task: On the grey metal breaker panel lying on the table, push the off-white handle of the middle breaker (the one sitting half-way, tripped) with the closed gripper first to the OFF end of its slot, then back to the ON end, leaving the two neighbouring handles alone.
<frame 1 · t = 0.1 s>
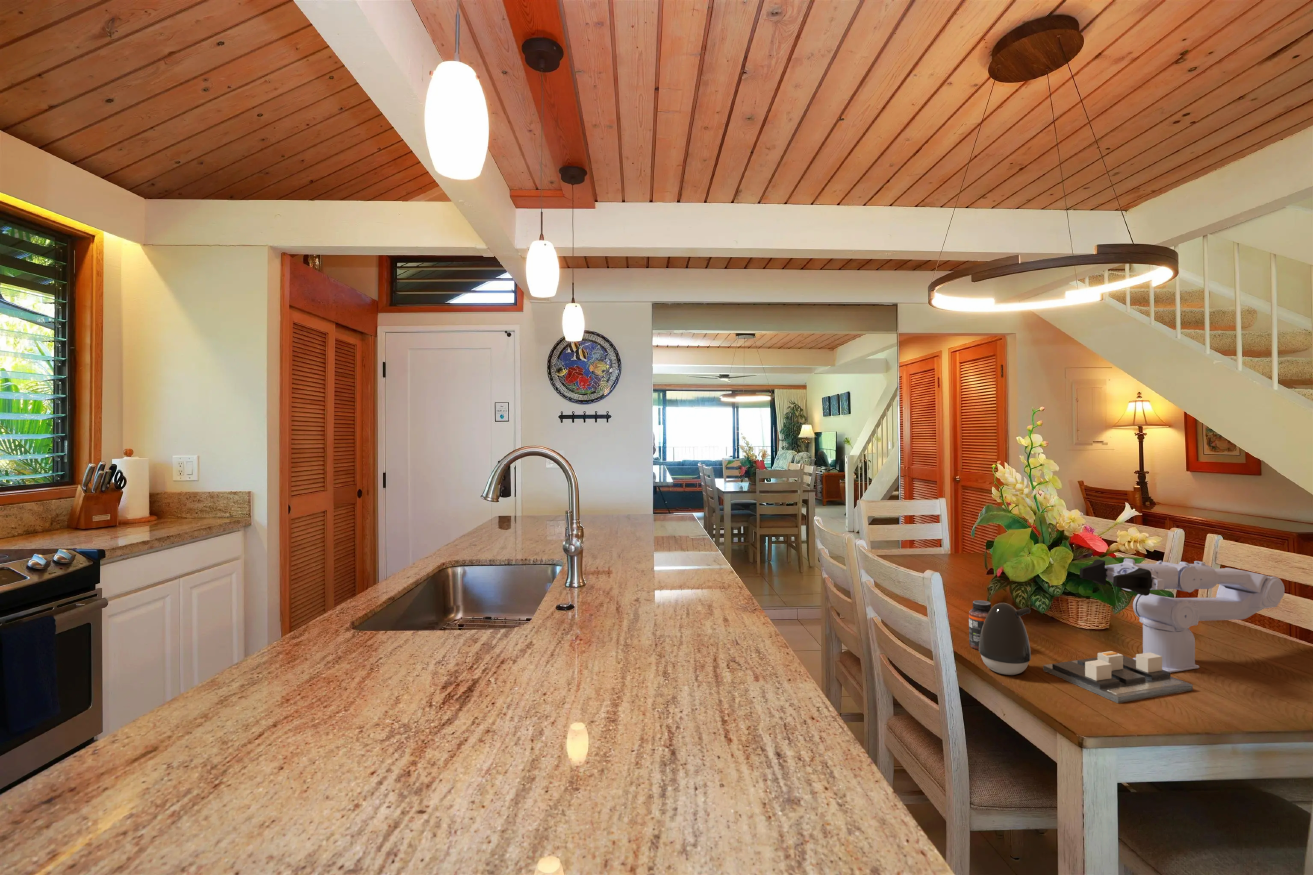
hand: (1097, 577, 134), 22 cm above the table, tool horizontal, fingers open, 7 cm apart
breaker panel: (1114, 679, 132), on the table
breaker middle: (1110, 660, 133), point 4 cm above the table, slide at 0.0 cm
pump dispenser: (1005, 671, 138), on the table
breaker 1: (1098, 669, 129), point 4 cm above the table, slide at 3.0 cm
breaker 2: (1149, 662, 132), point 4 cm above the table, slide at 3.0 cm
supplement bottle: (982, 648, 152), on the table
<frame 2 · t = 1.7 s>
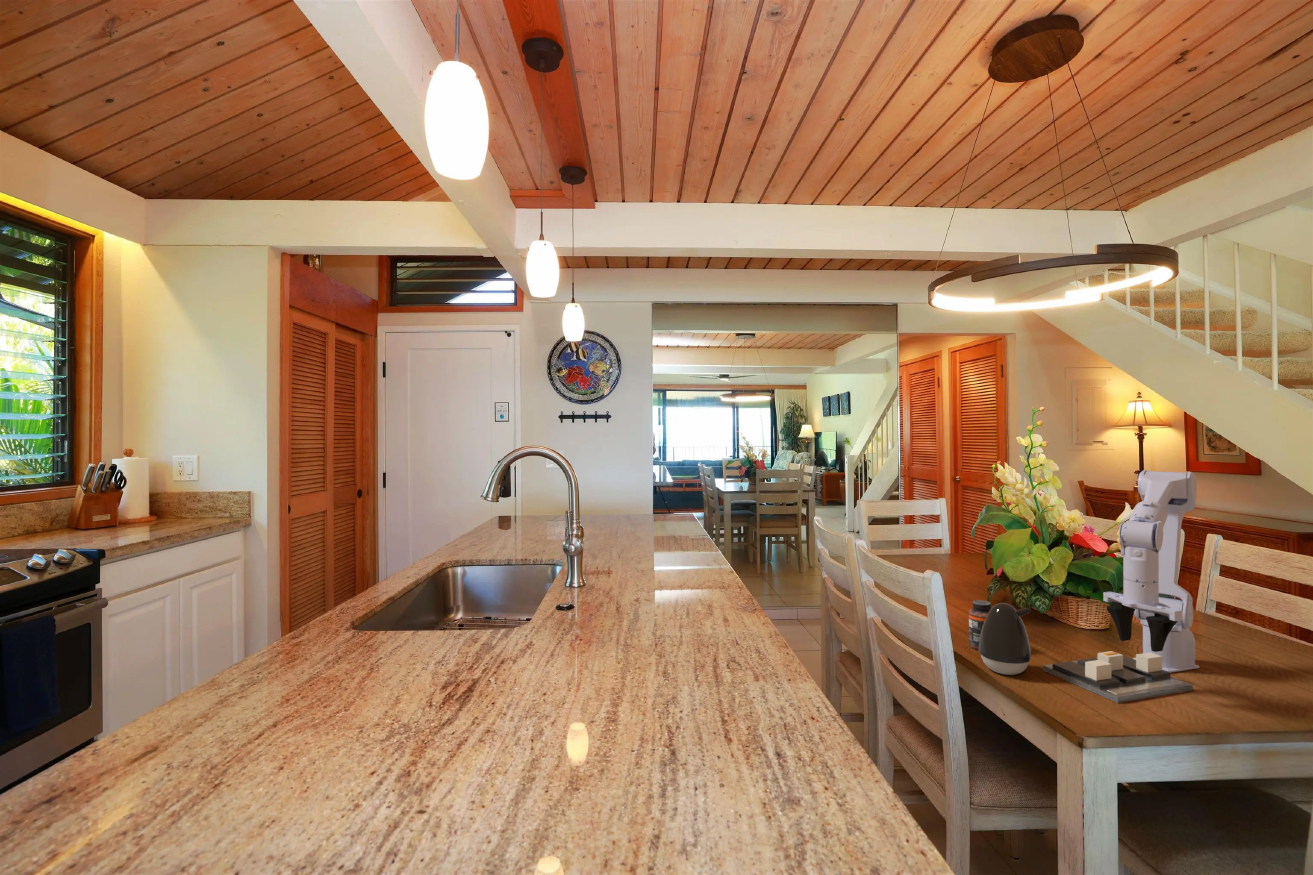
hand: (1140, 645, 127), 9 cm above the table, tool pointing down, fingers open, 6 cm apart
nothing on the table moved.
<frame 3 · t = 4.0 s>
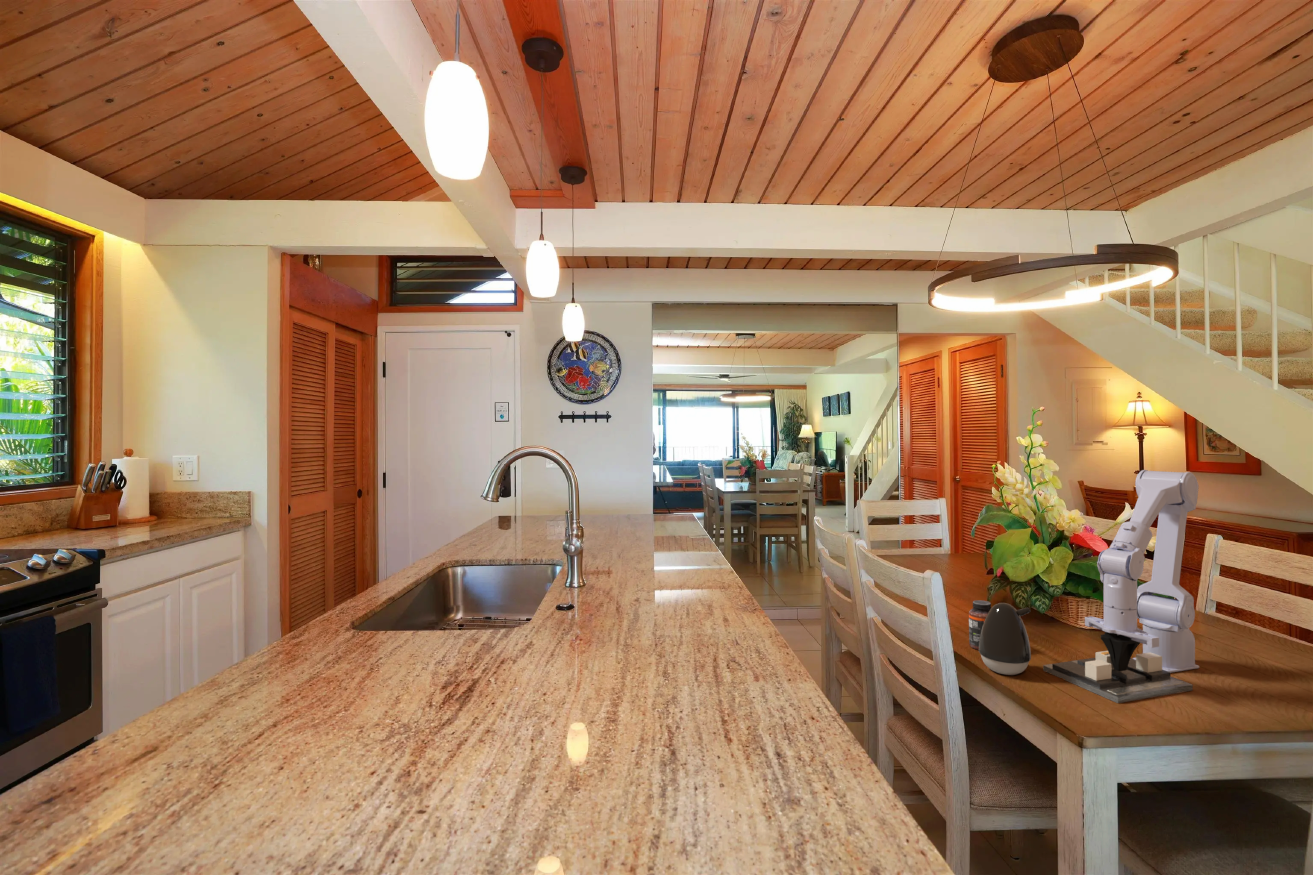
hand: (1120, 669, 131), 3 cm above the table, tool pointing down, fingers closed
breaker middle: (1108, 659, 134), point 4 cm above the table, slide at -0.5 cm, touching gripper
everything else where it was.
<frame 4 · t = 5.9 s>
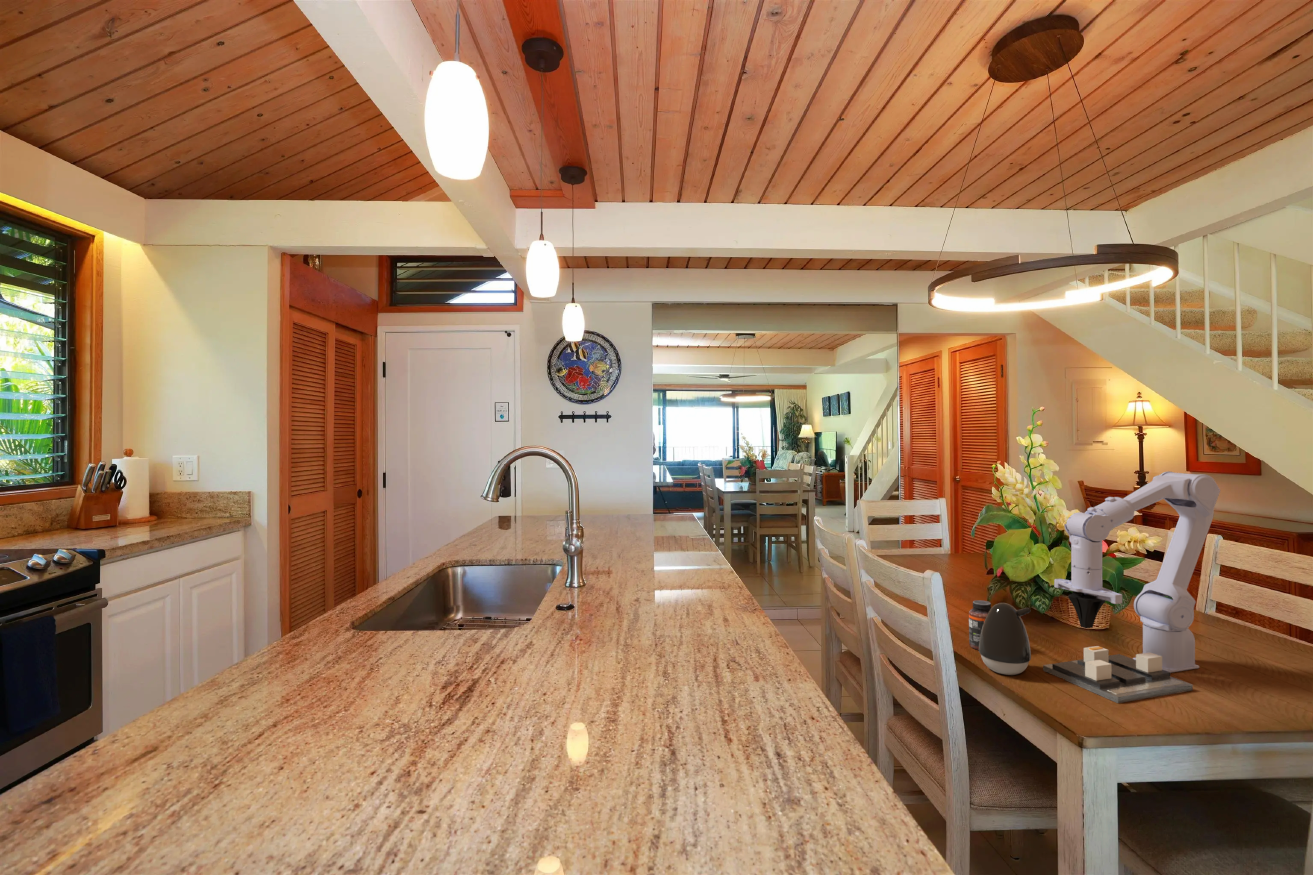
hand: (1086, 627, 138), 9 cm above the table, tool pointing down, fingers closed
breaker middle: (1096, 655, 136), point 4 cm above the table, slide at -3.2 cm
everything else where it was.
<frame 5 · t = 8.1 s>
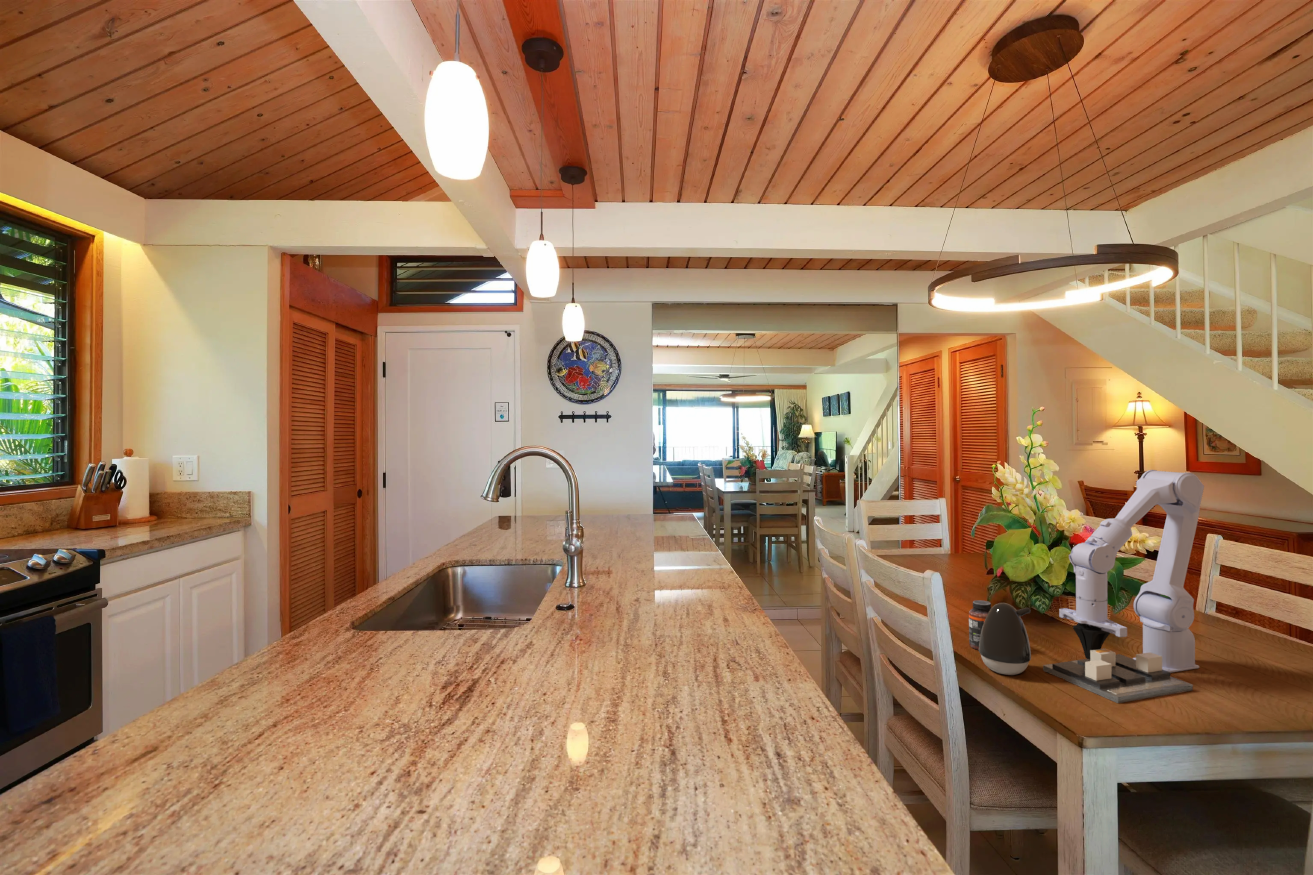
hand: (1091, 658, 137), 3 cm above the table, tool pointing down, fingers closed
breaker middle: (1102, 657, 135), point 4 cm above the table, slide at -1.7 cm, touching gripper
everything else where it was.
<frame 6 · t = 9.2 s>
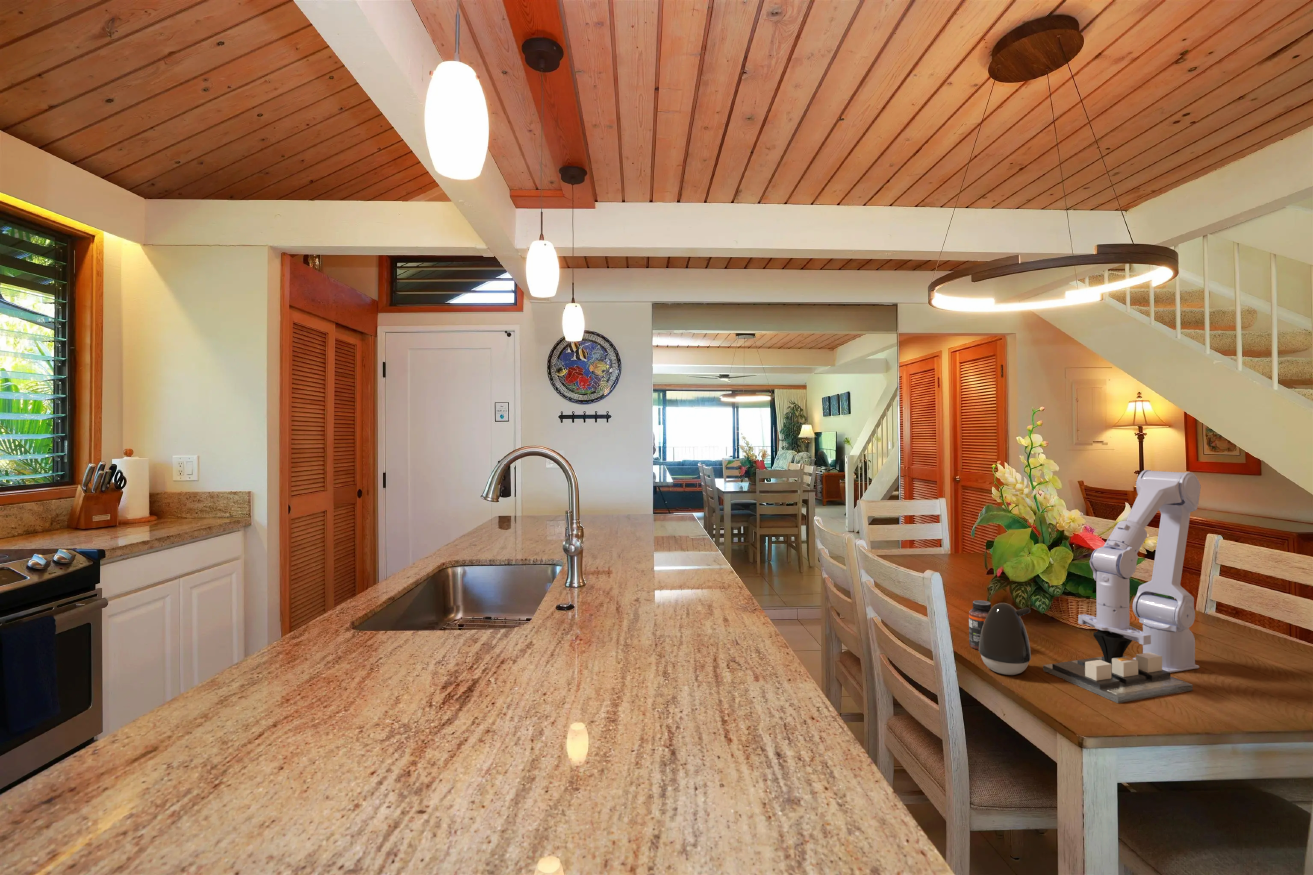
hand: (1112, 666, 133), 3 cm above the table, tool pointing down, fingers closed
breaker middle: (1124, 665, 130), point 4 cm above the table, slide at 3.2 cm, touching gripper
everything else where it was.
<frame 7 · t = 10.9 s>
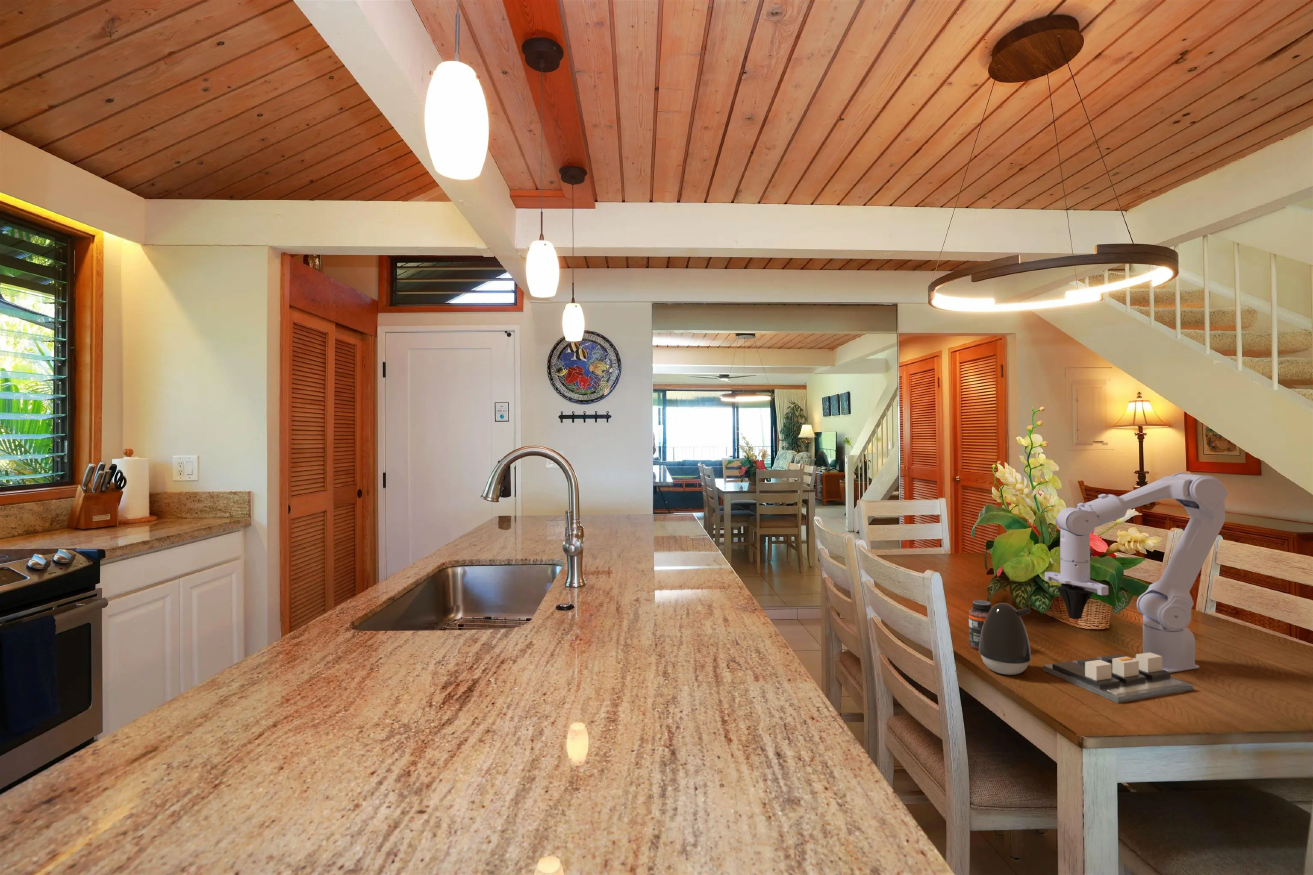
hand: (1075, 617, 143), 10 cm above the table, tool pointing down, fingers closed
breaker middle: (1125, 666, 130), point 4 cm above the table, slide at 3.3 cm
everything else where it was.
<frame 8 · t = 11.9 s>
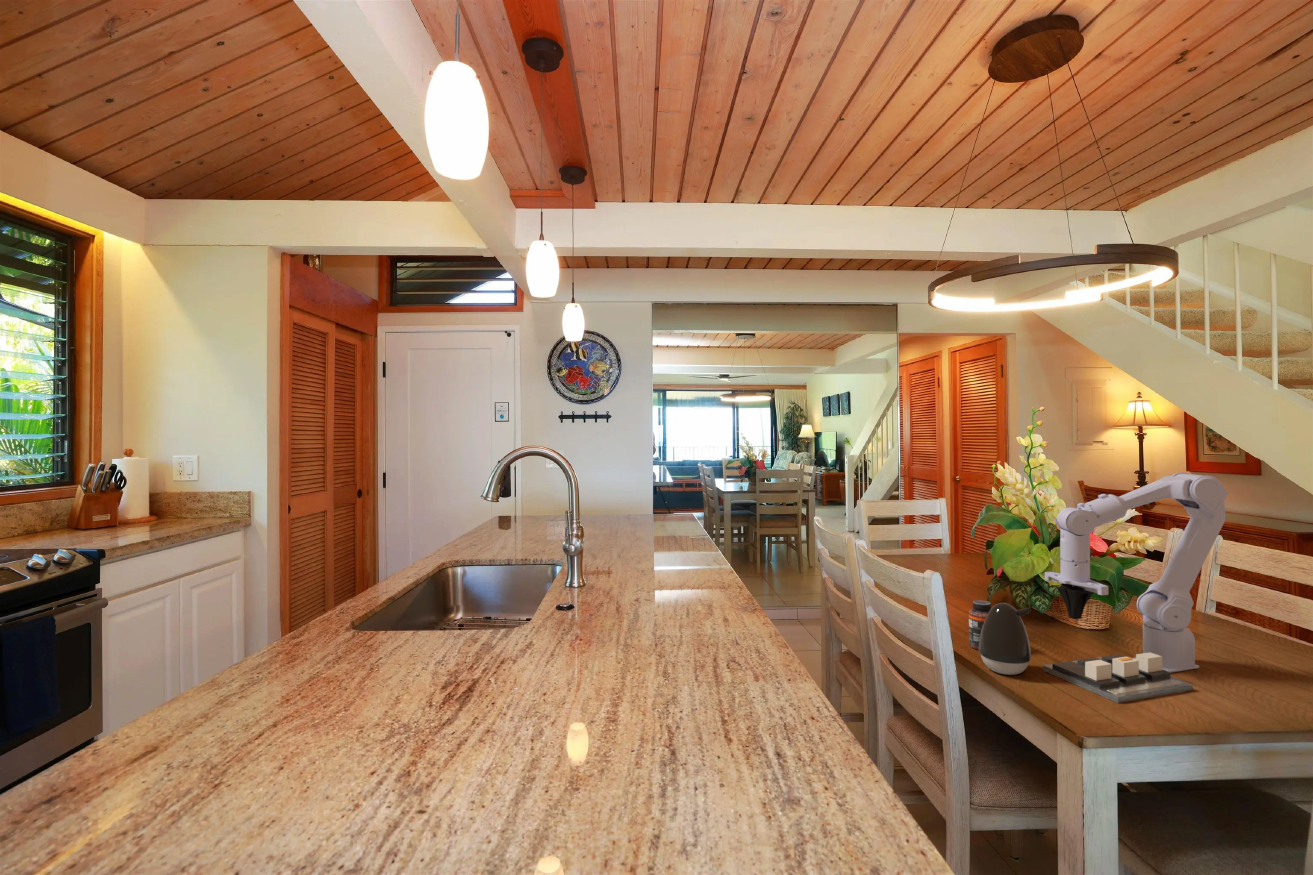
hand: (1075, 617, 143), 10 cm above the table, tool pointing down, fingers closed
nothing on the table moved.
at the end: breaker middle slide at 3.3 cm; breaker 2 slide at 3.0 cm; breaker 1 slide at 3.0 cm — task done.
